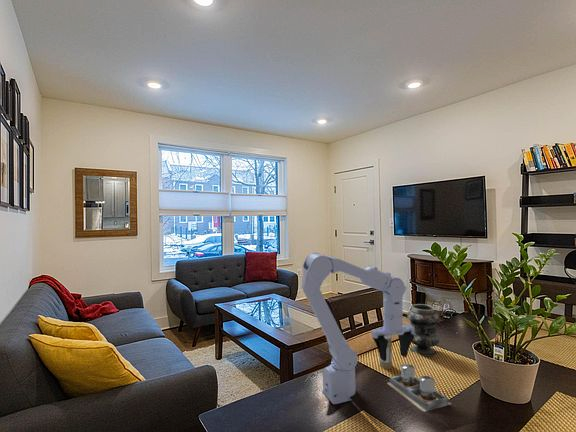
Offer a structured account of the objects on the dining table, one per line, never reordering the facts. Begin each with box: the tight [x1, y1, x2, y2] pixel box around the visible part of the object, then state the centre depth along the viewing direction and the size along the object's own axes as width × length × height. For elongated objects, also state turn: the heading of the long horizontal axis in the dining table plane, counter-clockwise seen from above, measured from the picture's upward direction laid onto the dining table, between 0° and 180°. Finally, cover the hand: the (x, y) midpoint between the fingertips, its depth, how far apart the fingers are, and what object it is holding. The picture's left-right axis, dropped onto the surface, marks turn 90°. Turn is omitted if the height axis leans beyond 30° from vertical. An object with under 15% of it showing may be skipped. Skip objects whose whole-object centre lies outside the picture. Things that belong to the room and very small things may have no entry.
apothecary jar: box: [406, 303, 441, 358], centre depth 127 cm, size 12×12×18 cm
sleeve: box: [419, 375, 436, 403], centre depth 91 cm, size 5×5×6 cm
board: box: [386, 374, 452, 412], centre depth 95 cm, size 10×16×3 cm, turn 19°
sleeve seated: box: [400, 363, 416, 388], centre depth 99 cm, size 5×5×6 cm
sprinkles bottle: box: [378, 335, 393, 370], centre depth 113 cm, size 5×5×13 cm
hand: (393, 357), depth 100 cm, fingers open, 7 cm apart
